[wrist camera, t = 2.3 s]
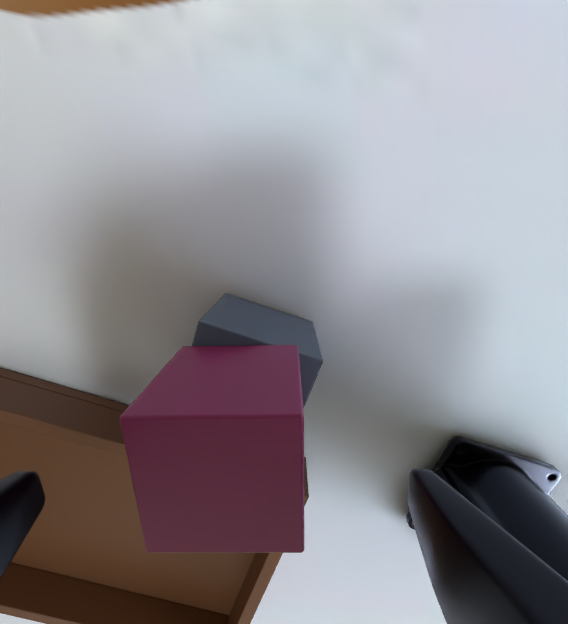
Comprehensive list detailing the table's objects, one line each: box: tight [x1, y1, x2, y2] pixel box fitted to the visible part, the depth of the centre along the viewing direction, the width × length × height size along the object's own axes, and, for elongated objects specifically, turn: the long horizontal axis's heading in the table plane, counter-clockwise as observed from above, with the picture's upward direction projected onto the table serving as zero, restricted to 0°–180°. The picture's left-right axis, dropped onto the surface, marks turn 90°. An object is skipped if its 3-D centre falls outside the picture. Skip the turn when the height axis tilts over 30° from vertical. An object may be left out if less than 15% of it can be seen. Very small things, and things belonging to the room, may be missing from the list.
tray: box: [0, 368, 309, 624], centre depth 17 cm, size 19×14×3 cm
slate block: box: [192, 293, 323, 408], centre depth 13 cm, size 4×4×4 cm
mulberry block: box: [120, 345, 304, 553], centre depth 9 cm, size 4×4×4 cm
